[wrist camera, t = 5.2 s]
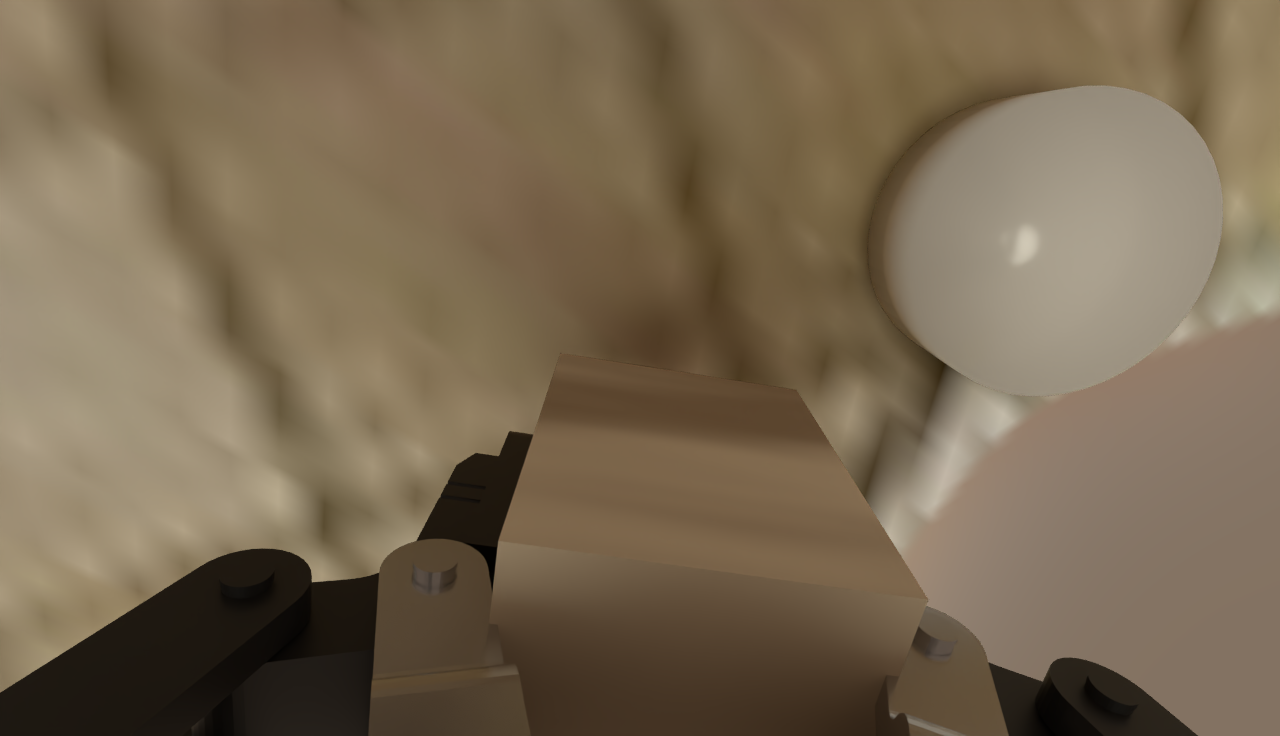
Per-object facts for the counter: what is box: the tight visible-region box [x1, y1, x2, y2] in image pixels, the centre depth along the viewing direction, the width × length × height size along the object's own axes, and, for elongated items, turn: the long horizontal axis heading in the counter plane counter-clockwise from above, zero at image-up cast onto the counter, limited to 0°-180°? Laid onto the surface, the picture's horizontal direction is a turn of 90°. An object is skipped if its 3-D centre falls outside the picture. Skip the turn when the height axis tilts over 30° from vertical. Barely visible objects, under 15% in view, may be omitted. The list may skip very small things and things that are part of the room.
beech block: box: [489, 353, 928, 736], centre depth 10 cm, size 4×4×6 cm
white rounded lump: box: [868, 86, 1223, 396], centre depth 19 cm, size 8×8×4 cm
